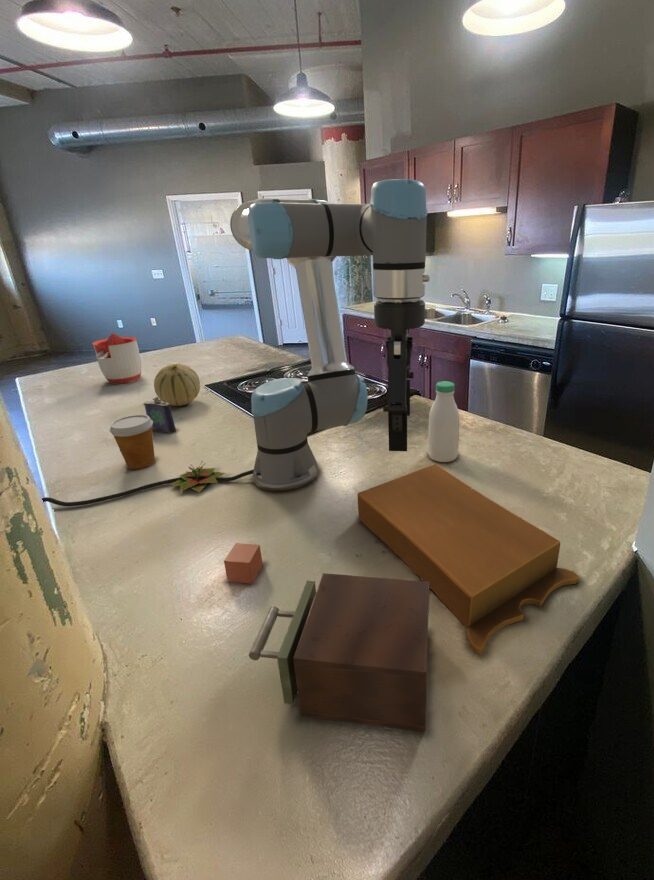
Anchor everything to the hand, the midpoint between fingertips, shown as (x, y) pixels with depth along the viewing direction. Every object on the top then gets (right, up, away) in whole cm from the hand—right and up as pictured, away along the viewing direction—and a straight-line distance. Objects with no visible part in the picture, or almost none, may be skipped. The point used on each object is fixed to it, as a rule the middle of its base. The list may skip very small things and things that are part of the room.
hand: (400, 431), depth 68 cm
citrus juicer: (-113, +13, +107) cm, 156 cm away
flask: (-70, -4, +59) cm, 92 cm away
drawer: (-10, -30, -13) cm, 34 cm away
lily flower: (-47, -15, +31) cm, 58 cm away
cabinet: (-4, -31, -14) cm, 34 cm away
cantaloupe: (-75, +3, +80) cm, 109 cm away
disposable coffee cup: (-66, -12, +40) cm, 78 cm away
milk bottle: (+13, -10, +41) cm, 44 cm away
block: (-26, -25, +3) cm, 36 cm away
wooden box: (+10, -22, +8) cm, 26 cm away
